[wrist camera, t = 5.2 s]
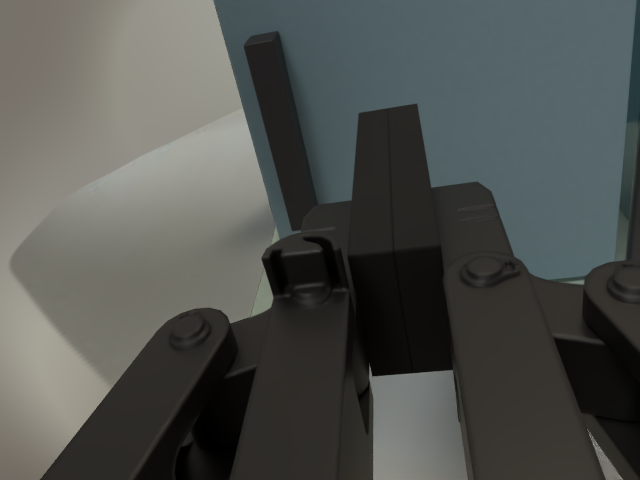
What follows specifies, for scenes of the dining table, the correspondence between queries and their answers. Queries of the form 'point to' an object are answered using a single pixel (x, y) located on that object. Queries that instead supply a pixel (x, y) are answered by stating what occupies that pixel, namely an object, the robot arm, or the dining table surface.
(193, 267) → the dining table surface
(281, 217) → the shower door
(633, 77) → the shower
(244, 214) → the dining table surface
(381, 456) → the dining table surface
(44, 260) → the dining table surface
